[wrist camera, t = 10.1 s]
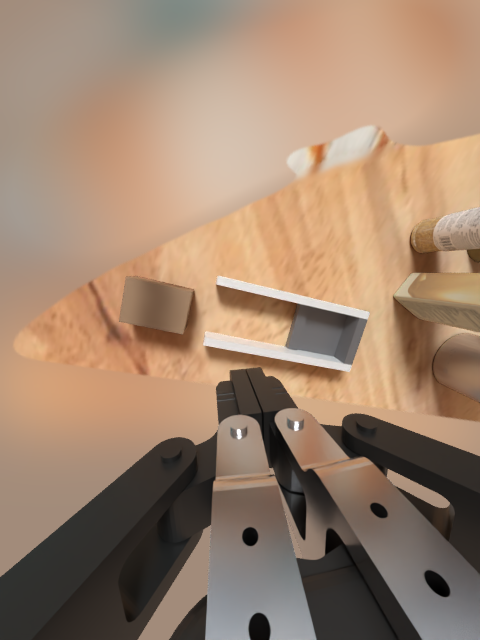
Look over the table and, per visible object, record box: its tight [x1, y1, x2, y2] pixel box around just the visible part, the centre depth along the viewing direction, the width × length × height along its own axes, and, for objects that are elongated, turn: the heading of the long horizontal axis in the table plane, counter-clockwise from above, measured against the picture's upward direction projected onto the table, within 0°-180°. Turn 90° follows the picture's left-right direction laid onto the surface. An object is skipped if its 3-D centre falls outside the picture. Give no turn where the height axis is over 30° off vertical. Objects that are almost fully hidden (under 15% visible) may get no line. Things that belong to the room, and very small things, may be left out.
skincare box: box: [394, 273, 480, 332], centre depth 27 cm, size 6×4×12 cm
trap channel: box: [203, 275, 370, 372], centre depth 30 cm, size 20×8×3 cm, turn 77°
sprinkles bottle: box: [411, 207, 480, 253], centre depth 25 cm, size 5×5×14 cm
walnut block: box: [119, 276, 194, 334], centre depth 27 cm, size 7×5×4 cm
